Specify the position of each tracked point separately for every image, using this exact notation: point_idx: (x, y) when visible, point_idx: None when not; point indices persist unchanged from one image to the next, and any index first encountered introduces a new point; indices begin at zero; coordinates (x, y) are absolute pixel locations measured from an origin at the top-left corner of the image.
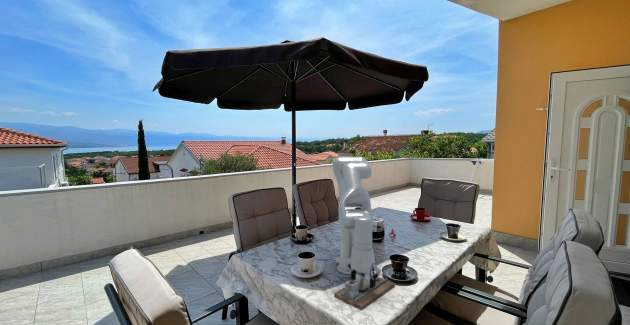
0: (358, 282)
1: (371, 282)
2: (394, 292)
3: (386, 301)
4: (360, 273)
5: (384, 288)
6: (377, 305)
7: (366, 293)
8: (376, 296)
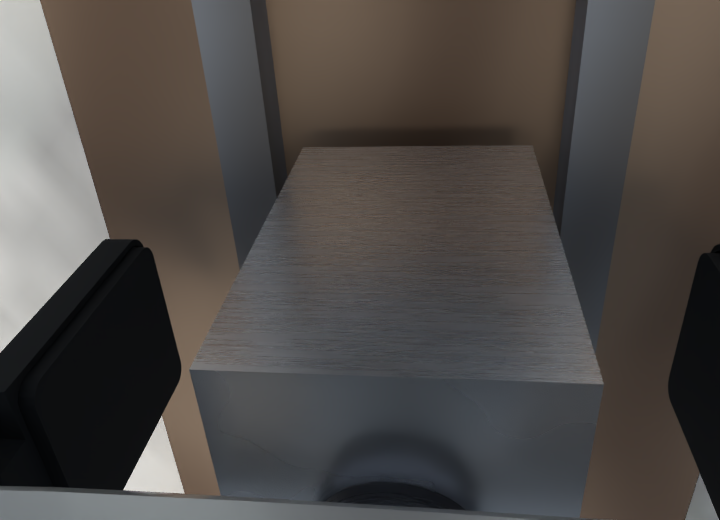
0: (449, 217)
1: (32, 344)
2: (148, 481)
3: (31, 258)
4: (462, 496)
5: (206, 466)
6: (2, 64)
7: (219, 128)
8: (107, 218)
